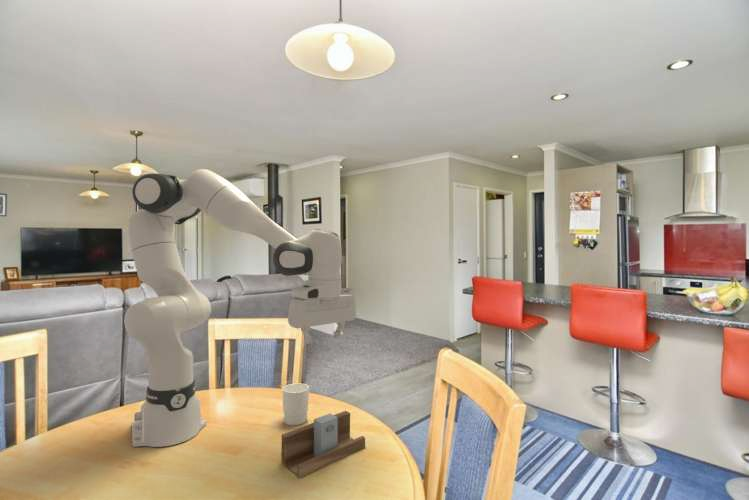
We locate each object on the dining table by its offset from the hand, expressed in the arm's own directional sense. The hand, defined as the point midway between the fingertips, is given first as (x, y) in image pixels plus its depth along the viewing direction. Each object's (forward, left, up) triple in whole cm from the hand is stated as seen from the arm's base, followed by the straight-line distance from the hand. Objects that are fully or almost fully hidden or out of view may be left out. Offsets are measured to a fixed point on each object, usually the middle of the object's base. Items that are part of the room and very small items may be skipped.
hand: (323, 340), depth 105 cm
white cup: (-15, +1, -27) cm, 31 cm away
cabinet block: (+7, -4, -27) cm, 28 cm away
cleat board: (+7, -4, -27) cm, 28 cm away
